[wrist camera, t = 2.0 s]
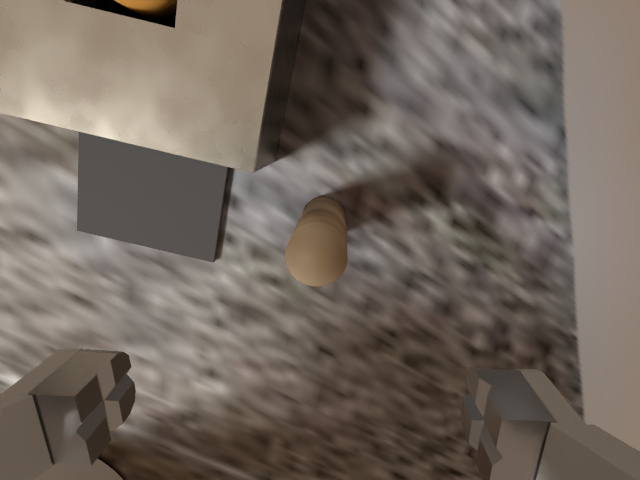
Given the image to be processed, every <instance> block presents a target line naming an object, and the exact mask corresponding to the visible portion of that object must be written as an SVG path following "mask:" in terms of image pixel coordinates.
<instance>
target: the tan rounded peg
mask: <svg viewBox="0 0 640 480" xmlns="http://www.w3.org/2000/svg"><path fill="white" fill-rule="evenodd" d="M347 258H348V257H347V237H346V218H345V211H344V209H343V207H342V206H341V204H340V203H339V202H338V201H337V200H335V199H333V198H330V197H326V196H322V197H317V198H314V199H312V200H311V201H310V202H309V203H308V204H307V205H306V206H305V208H304V210H303V212H302V215H301V217H300V219H299V221H298V223H297V225H296V228H295V230H294V232H293V234H292V236H291V239H290V241H289V243H288V245H287V248H286V252H285V261H286V265H287V268H288V270H289V271H290V273H291V274H292V276H293V277H294V278H295V279H297V280H298V281H300V282H301V283H303V284H306V285H309V286H325V285H328V284H331V283H333V282H334V281H336V280H337V279H338V278H339V277H340V276H341V275H342V274H343V272H344V270H345V268H346V265H347Z"/></svg>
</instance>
